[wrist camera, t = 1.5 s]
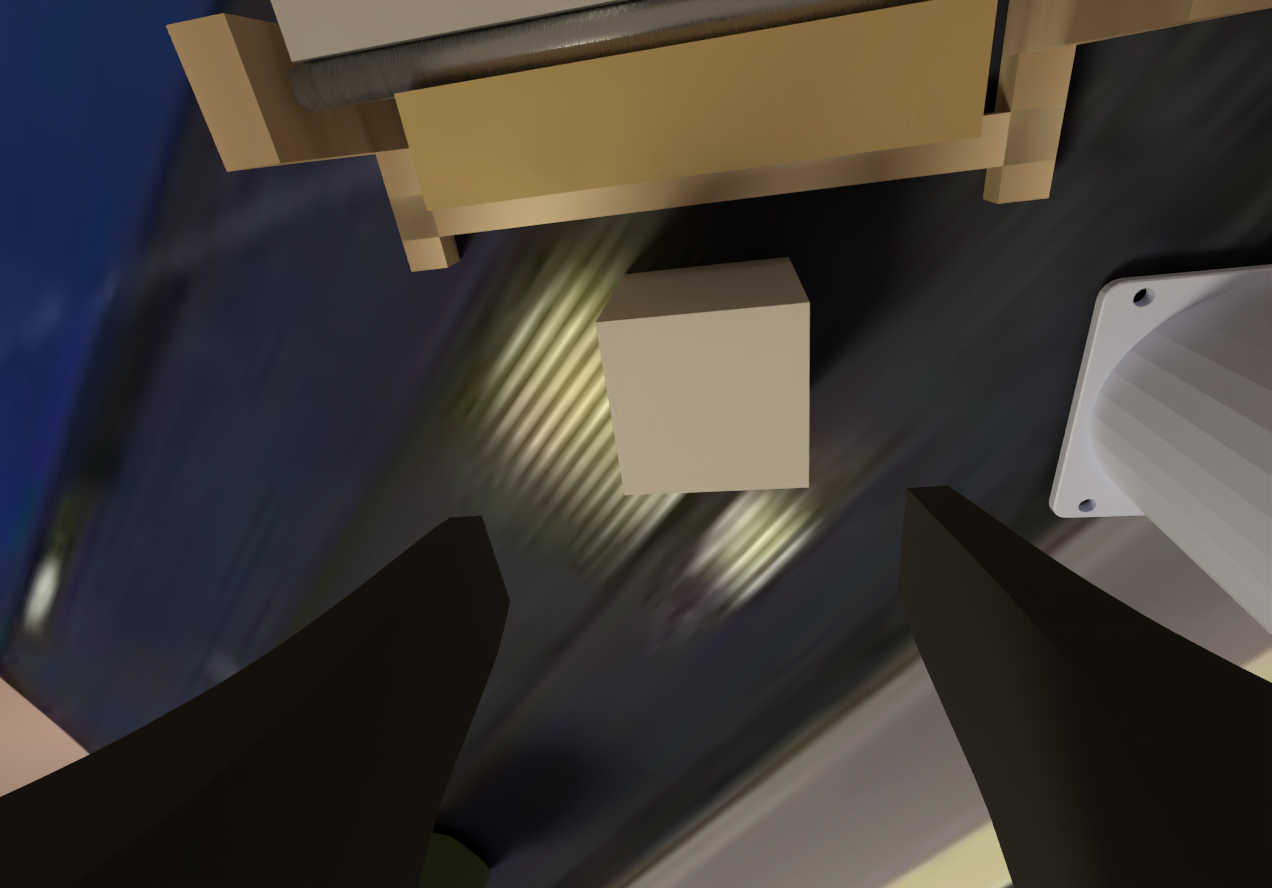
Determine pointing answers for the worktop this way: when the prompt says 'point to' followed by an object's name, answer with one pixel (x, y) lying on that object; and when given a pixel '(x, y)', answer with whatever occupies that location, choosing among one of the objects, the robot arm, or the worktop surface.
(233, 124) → the frame
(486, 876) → the character mug
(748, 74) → the trapdoor
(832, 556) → the worktop surface
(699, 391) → the stone block
